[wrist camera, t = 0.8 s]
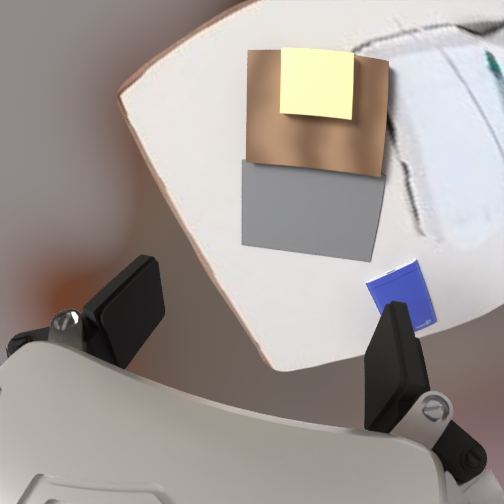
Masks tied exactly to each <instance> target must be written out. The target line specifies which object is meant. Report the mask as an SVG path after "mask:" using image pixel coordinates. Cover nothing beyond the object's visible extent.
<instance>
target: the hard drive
mask: <svg viewBox="0 0 504 504" xmlns="http://www.w3.org/2000/svg"><path fill="white" fill-rule="evenodd" d="M365 282H366V285H367V287H368V289H369V291H370V293H371V295H372V297H373V300H374V302H375V304H376V306H377V308H378V310H379V312H380V314H381V315H382V312H383V310H384V307H385V305H386V304H390V303H391V301H399V302H405V303H406V304H407V307H408V311H409V315H410V318H411V322H412V326H413V330H414V332H415V331H417V330H420V329H422V328H425V327H427V326H429V325H431V324H434V323H435V322H436V317H435V313H434V310H433V307H432V303H431V300H430V297H429V294H428V291H427V288H426V285H425V282H424V279H423V276H422V273H421V271H420V268H419V265H418V262H417V260H416V258H415V259H413V260H411V261H408V262H406V263H404V264H402V265H400V266H398V267H396V268H394V269H392V270H389V271H387V272H385V273H383V274H381V275H379V276H376V277H374V278H372V279H370V280H367V281H365Z"/></svg>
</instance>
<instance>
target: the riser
mask: <svg viewBox="0 0 504 504" xmlns="http://www.w3.org/2000/svg"><path fill="white" fill-rule="evenodd" d="M388 78H389V61H386V60H380V59H375V58H369V57H362V56H356V55H354V70H353V101H352V119H351V120H349V119H342V118H333V117H324V116H314V115H302V114H287V113H280V91H281V50H248V62H247V124H246V163H262V164H275V165H287V166H298V167H308V168H317V169H326V170H334V171H341V172H349V173H356V174H363V175H369V176H375V177H381V169H382V161H383V152H384V143H385V132H386V119H387V104H388Z"/></svg>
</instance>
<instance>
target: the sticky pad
mask: <svg viewBox="0 0 504 504" xmlns="http://www.w3.org/2000/svg"><path fill="white" fill-rule="evenodd" d="M353 70H354V53H349V52H341V51H332V50H320V49H304V48H281V91H280V113H287V114H302V115H314V116H324V117H333V118H342V119H349V120H351V119H352V101H353Z"/></svg>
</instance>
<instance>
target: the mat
mask: <svg viewBox="0 0 504 504" xmlns="http://www.w3.org/2000/svg"><path fill="white" fill-rule="evenodd" d="M385 177H386V175H382V174H381V177H375V176H369V175H363V174H356V173H349V172H341V171H334V170H326V169H317V168H308V167H298V166H287V165H275V164H262V163H246V160H242V245H247V246H255V247H262V248H270V249H277V250H285V251H292V252H300V253H307V254H315V255H322V256H330V257H337V258H345V259H352V260H359V261H367V262H370V258H371V254H372V249H373V245H374V240H375V235H376V230H377V225H378V220H379V215H380V209H381V203H382V197H383V191H384V184H385Z"/></svg>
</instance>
